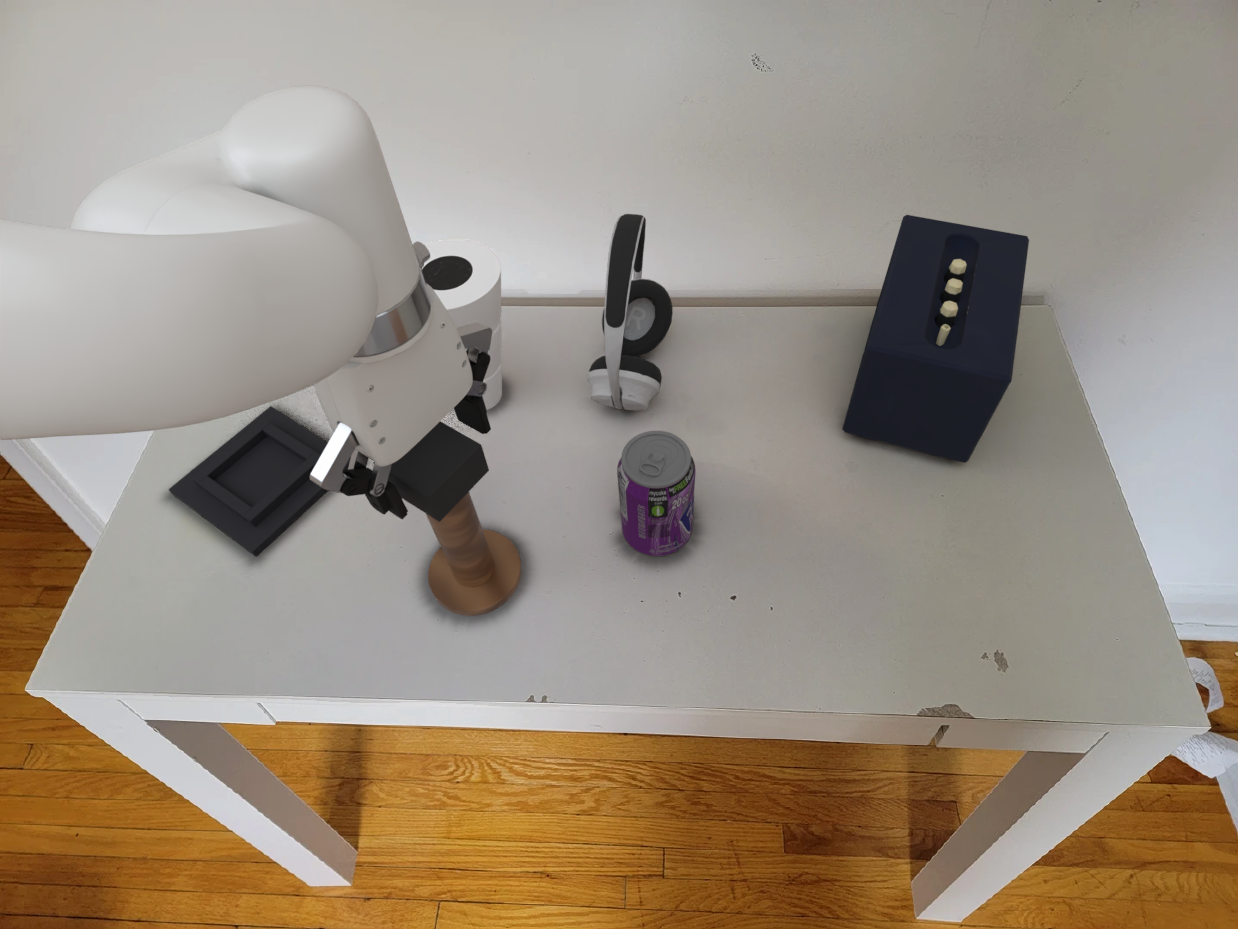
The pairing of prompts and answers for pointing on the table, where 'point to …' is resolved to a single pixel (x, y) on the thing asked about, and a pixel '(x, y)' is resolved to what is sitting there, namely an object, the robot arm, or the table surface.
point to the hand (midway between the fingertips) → (434, 465)
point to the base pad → (256, 480)
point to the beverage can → (656, 492)
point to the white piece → (470, 295)
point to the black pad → (439, 471)
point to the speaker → (940, 338)
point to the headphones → (629, 323)
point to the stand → (471, 563)
